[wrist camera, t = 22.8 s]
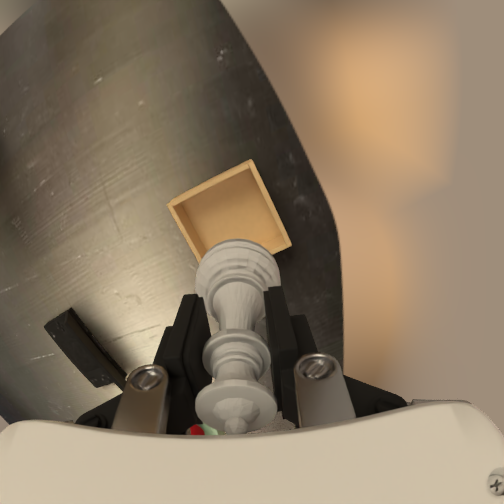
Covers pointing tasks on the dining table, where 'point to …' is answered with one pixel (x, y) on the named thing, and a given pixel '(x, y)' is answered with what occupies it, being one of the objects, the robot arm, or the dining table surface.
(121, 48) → the dining table surface
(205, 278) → the chess piece
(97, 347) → the handheld gaming console
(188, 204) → the tray
